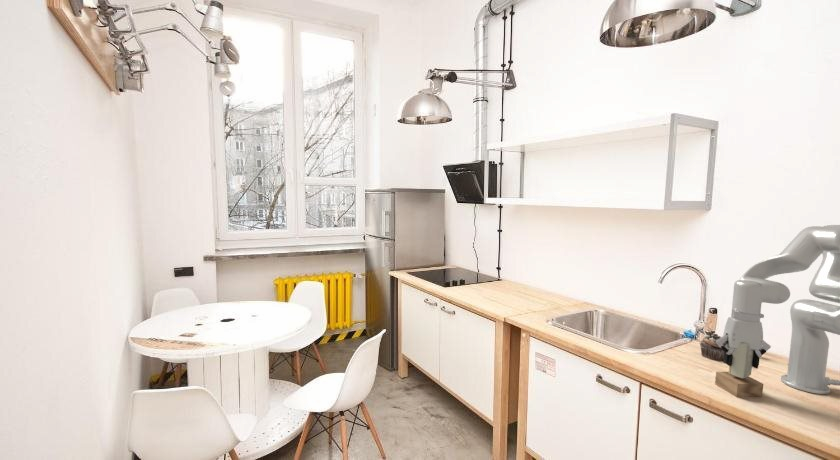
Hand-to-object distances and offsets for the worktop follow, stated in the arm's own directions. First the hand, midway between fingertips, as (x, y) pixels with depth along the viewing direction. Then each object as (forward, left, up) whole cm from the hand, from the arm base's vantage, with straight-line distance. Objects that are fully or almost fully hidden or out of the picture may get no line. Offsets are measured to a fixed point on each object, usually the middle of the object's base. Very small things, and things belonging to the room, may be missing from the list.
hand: (740, 365), depth 132 cm
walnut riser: (0, 0, -9) cm, 9 cm away
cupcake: (-8, -31, -9) cm, 33 cm away
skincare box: (0, 0, -4) cm, 4 cm away
